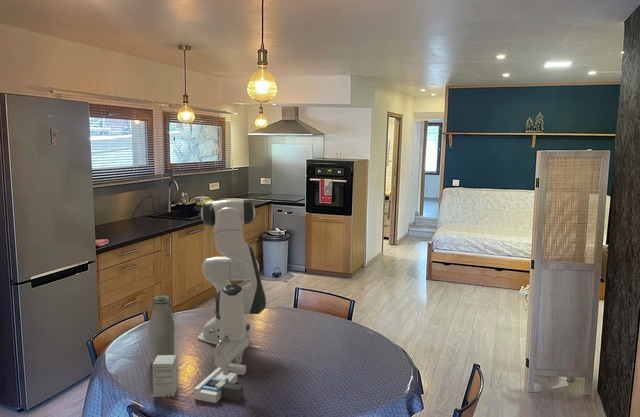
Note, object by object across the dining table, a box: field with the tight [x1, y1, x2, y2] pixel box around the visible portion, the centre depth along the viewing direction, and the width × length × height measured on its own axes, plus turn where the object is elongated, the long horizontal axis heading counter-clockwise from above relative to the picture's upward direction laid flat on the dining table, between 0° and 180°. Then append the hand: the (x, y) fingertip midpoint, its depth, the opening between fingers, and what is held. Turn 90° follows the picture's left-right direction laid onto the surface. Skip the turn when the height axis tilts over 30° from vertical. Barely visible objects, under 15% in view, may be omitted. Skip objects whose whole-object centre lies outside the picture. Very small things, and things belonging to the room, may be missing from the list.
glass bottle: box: [148, 294, 175, 362], centre depth 198 cm, size 10×10×28 cm
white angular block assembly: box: [193, 362, 247, 404], centre depth 180 cm, size 8×24×5 cm, turn 163°
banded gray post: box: [208, 380, 244, 401], centre depth 173 cm, size 12×4×4 cm, turn 73°
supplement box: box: [151, 354, 179, 398], centre depth 174 cm, size 7×7×13 cm
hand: (232, 368), depth 171 cm, fingers open, 8 cm apart
